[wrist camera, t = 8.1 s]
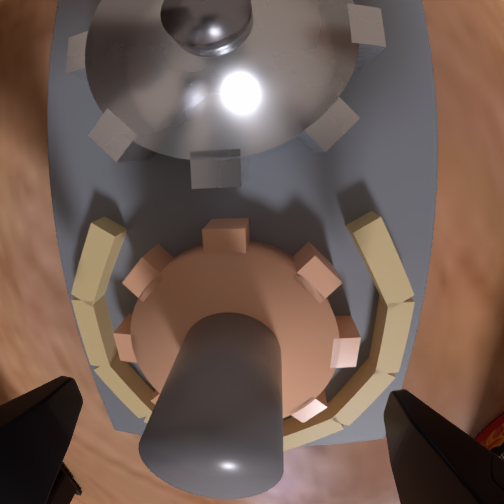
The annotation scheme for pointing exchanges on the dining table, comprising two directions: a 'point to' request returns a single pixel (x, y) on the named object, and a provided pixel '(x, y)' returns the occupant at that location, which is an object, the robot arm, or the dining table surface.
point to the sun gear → (222, 78)
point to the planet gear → (231, 355)
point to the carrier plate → (263, 221)
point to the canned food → (493, 437)
